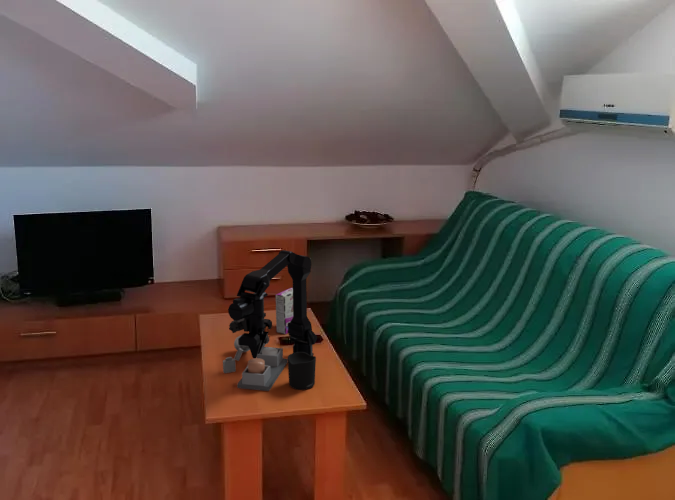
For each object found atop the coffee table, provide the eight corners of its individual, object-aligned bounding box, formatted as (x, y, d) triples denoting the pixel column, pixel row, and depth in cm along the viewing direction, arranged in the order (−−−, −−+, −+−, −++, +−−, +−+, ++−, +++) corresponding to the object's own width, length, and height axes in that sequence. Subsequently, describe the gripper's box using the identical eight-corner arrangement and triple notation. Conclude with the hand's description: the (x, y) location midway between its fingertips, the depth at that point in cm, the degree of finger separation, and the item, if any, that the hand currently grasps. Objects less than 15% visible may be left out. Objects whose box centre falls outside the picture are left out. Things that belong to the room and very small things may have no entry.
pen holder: (288, 391, 225) (288, 363, 223) (287, 379, 234) (287, 352, 232) (316, 390, 226) (316, 362, 224) (314, 378, 235) (314, 351, 233)
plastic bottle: (246, 354, 259) (272, 350, 243) (230, 351, 255) (255, 346, 239) (249, 337, 261) (274, 332, 245) (233, 334, 257) (257, 328, 241)
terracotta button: (266, 370, 231) (266, 359, 230) (262, 376, 226) (261, 365, 225) (251, 368, 232) (250, 357, 231) (245, 375, 227) (245, 364, 226)
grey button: (279, 358, 247) (279, 348, 246) (275, 364, 242) (275, 354, 241) (264, 357, 248) (264, 346, 247) (260, 363, 243) (260, 352, 242)
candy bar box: (291, 324, 287) (290, 287, 283) (300, 326, 285) (300, 289, 281) (275, 332, 278) (274, 294, 274) (285, 334, 275) (284, 296, 271)
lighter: (224, 373, 238) (223, 352, 237) (223, 371, 240) (222, 350, 238) (243, 369, 242) (243, 348, 240) (242, 368, 243) (241, 347, 241)
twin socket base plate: (287, 362, 248) (287, 348, 247) (269, 391, 225) (268, 375, 224) (258, 360, 250) (258, 346, 249) (237, 388, 227) (236, 372, 226)
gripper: (241, 301, 234) (242, 343, 238) (222, 319, 216) (223, 365, 220) (272, 303, 232) (272, 346, 236) (255, 322, 214) (256, 367, 218)
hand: (256, 355), depth 228 cm, fingers open, 3 cm apart
